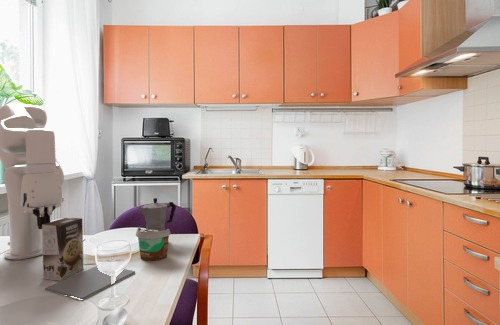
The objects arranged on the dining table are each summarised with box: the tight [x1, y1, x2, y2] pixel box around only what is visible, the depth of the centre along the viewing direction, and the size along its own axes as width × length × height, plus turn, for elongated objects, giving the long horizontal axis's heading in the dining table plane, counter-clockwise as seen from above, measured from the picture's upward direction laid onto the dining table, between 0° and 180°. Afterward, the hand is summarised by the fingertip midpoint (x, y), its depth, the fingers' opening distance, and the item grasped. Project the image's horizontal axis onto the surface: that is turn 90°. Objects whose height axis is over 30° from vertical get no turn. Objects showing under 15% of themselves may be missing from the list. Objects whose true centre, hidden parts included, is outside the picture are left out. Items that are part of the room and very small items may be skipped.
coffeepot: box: [138, 197, 177, 231], centre depth 122 cm, size 15×9×18 cm, turn 133°
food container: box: [135, 226, 171, 262], centre depth 105 cm, size 12×6×10 cm, turn 76°
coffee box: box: [42, 217, 85, 282], centre depth 93 cm, size 9×6×16 cm
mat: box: [44, 265, 136, 300], centre depth 88 cm, size 14×18×1 cm
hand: (44, 228), depth 96 cm, fingers closed
